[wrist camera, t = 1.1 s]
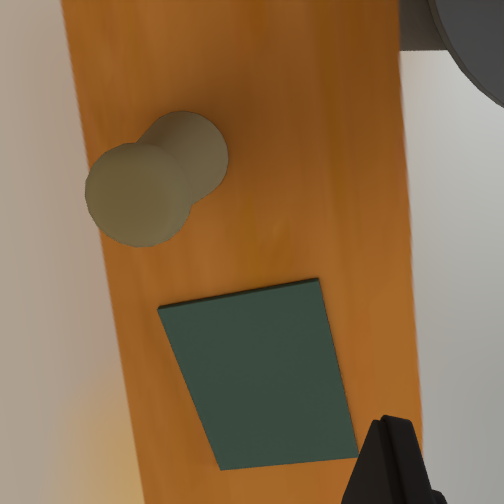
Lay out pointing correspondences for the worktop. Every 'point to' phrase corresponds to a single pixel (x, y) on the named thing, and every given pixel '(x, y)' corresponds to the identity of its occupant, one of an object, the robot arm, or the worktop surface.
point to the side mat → (263, 375)
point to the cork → (156, 179)
